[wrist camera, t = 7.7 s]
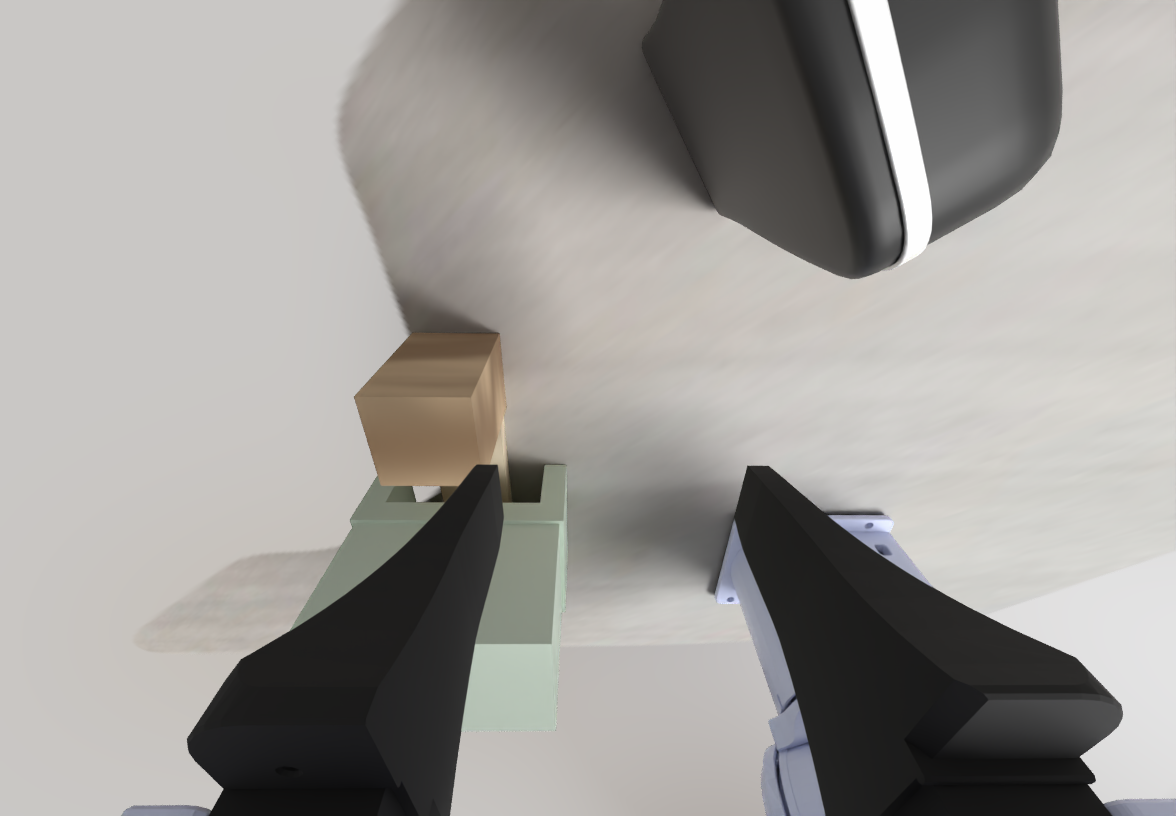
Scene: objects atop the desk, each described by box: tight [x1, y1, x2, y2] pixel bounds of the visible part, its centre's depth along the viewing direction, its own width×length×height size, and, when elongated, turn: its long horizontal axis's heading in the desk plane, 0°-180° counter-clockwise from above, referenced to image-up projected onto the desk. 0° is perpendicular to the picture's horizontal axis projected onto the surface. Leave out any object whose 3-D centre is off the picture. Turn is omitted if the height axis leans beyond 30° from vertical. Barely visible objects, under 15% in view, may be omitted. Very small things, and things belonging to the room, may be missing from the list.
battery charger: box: [642, 0, 1062, 279], centre depth 11 cm, size 7×4×11 cm, turn 34°
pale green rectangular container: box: [290, 465, 568, 731], centre depth 22 cm, size 7×10×10 cm
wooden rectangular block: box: [354, 333, 512, 503], centre depth 21 cm, size 14×4×6 cm, turn 179°
